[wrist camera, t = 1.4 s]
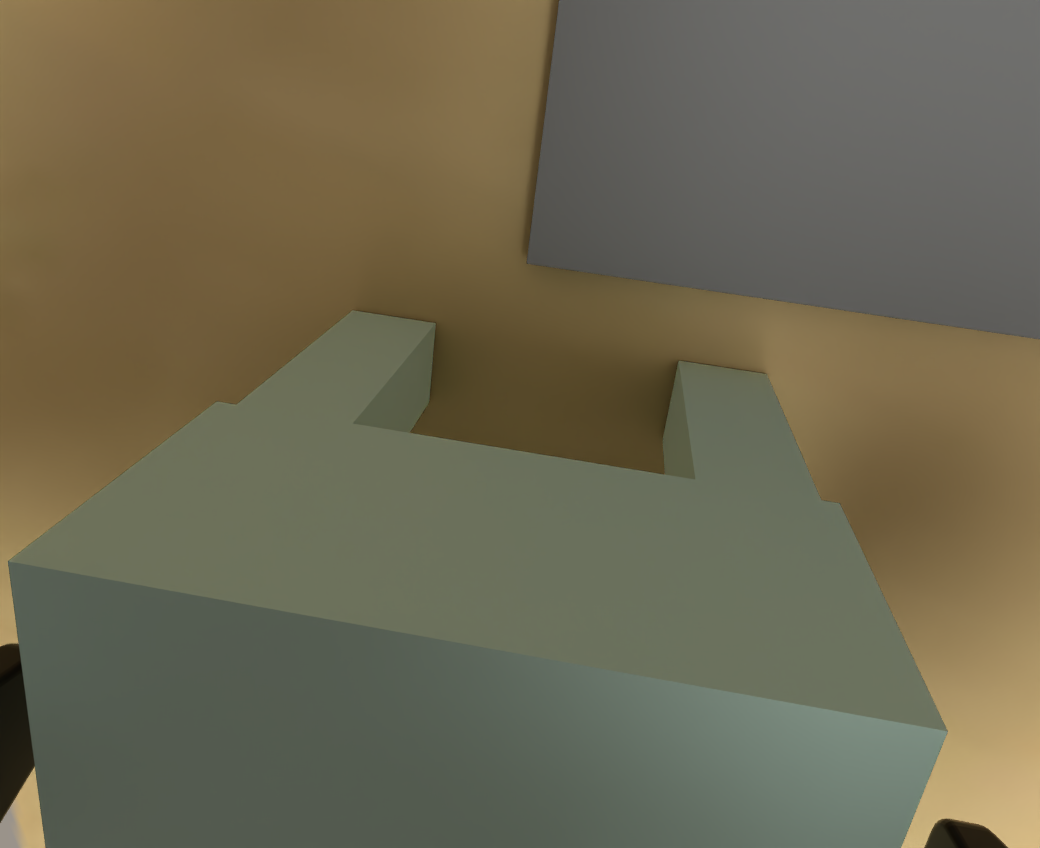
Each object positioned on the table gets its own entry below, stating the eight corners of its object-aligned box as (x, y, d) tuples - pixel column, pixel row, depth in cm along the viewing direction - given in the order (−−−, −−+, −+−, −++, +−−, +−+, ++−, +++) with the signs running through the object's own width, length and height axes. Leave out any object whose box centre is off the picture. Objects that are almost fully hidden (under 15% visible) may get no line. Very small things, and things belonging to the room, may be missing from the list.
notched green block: (689, 714, 14) (733, 1265, 7) (331, 649, 14) (80, 1115, 8) (775, 368, 12) (947, 730, 5) (346, 302, 12) (7, 560, 6)
